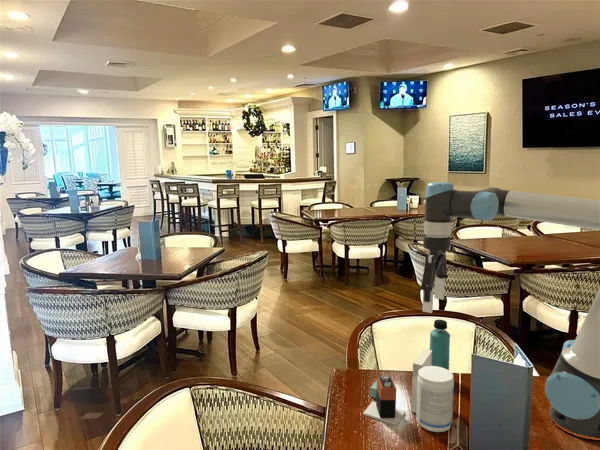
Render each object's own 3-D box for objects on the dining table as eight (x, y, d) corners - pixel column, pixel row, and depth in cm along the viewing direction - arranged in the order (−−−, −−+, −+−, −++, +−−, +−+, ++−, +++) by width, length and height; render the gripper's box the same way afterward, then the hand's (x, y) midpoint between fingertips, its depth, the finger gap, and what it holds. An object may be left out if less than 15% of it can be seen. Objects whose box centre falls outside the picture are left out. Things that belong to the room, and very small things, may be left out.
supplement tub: (459, 430, 120) (462, 379, 118) (427, 436, 118) (430, 384, 115) (438, 410, 129) (441, 363, 127) (409, 415, 127) (411, 367, 124)
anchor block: (386, 387, 142) (387, 378, 142) (377, 398, 135) (378, 389, 135) (379, 385, 143) (379, 376, 143) (370, 396, 137) (370, 387, 136)
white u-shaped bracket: (429, 396, 137) (432, 350, 134) (419, 413, 127) (421, 365, 125) (421, 393, 138) (423, 348, 136) (410, 411, 129) (413, 363, 126)
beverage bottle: (451, 383, 144) (454, 324, 141) (430, 383, 145) (433, 324, 141) (445, 373, 151) (448, 317, 148) (425, 373, 151) (428, 317, 148)
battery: (390, 405, 131) (391, 373, 129) (395, 418, 124) (396, 385, 123) (375, 405, 131) (376, 373, 129) (380, 418, 124) (381, 385, 123)
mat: (405, 413, 128) (405, 411, 128) (397, 425, 122) (397, 423, 122) (372, 403, 133) (372, 401, 133) (363, 414, 127) (363, 412, 127)
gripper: (435, 228, 143) (431, 291, 146) (411, 241, 122) (408, 315, 125) (459, 230, 139) (455, 295, 142) (439, 244, 118) (435, 320, 121)
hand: (433, 305), depth 134 cm, fingers open, 13 cm apart
